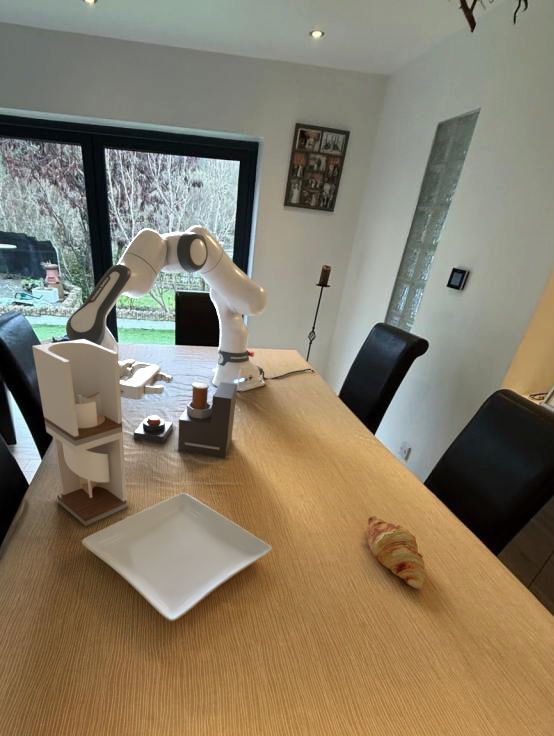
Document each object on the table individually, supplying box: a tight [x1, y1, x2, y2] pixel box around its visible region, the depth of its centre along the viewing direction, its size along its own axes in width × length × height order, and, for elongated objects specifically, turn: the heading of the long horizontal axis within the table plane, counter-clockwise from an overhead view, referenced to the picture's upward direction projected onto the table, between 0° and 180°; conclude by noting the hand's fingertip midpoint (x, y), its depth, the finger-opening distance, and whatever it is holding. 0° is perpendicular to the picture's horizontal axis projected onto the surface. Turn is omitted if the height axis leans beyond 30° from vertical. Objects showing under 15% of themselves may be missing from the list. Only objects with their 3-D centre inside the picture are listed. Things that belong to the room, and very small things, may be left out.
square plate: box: [81, 492, 273, 622], centre depth 82 cm, size 27×27×4 cm
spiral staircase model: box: [31, 339, 128, 527], centre depth 86 cm, size 11×11×35 cm
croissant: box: [366, 515, 426, 590], centre depth 88 cm, size 21×10×8 cm, turn 11°
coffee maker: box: [177, 382, 238, 459], centre depth 120 cm, size 12×14×18 cm
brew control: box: [133, 417, 174, 444], centre depth 127 cm, size 11×9×4 cm
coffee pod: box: [191, 381, 210, 410], centre depth 117 cm, size 5×5×8 cm
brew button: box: [147, 414, 161, 425], centre depth 126 cm, size 4×4×2 cm
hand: (167, 384), depth 116 cm, fingers open, 8 cm apart
